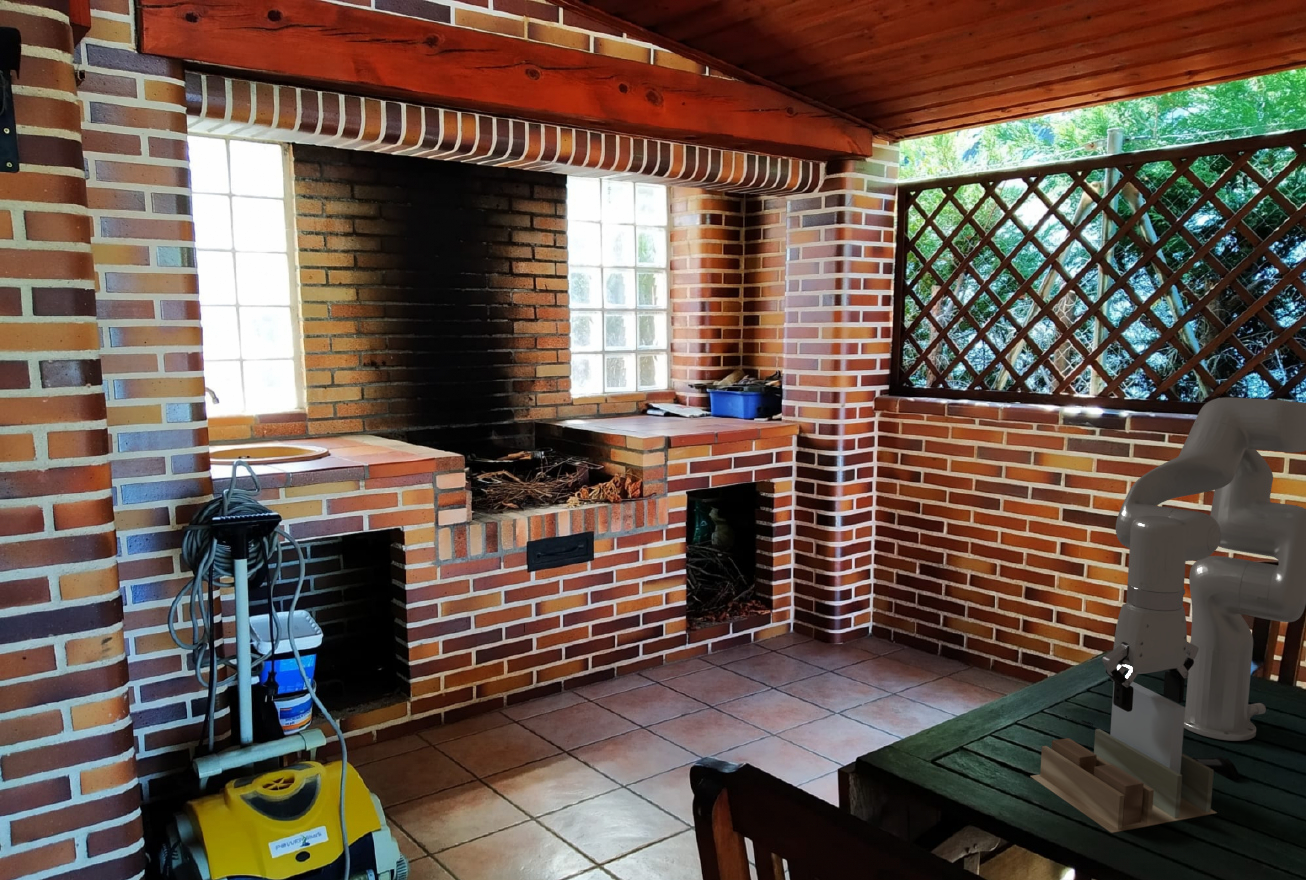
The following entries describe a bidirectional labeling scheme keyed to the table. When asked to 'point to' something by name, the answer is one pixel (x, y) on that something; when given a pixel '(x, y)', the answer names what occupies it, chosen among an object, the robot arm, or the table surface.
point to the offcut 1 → (1075, 754)
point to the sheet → (1151, 726)
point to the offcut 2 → (1124, 790)
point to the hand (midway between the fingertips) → (1148, 703)
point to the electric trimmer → (1220, 766)
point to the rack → (1162, 786)
